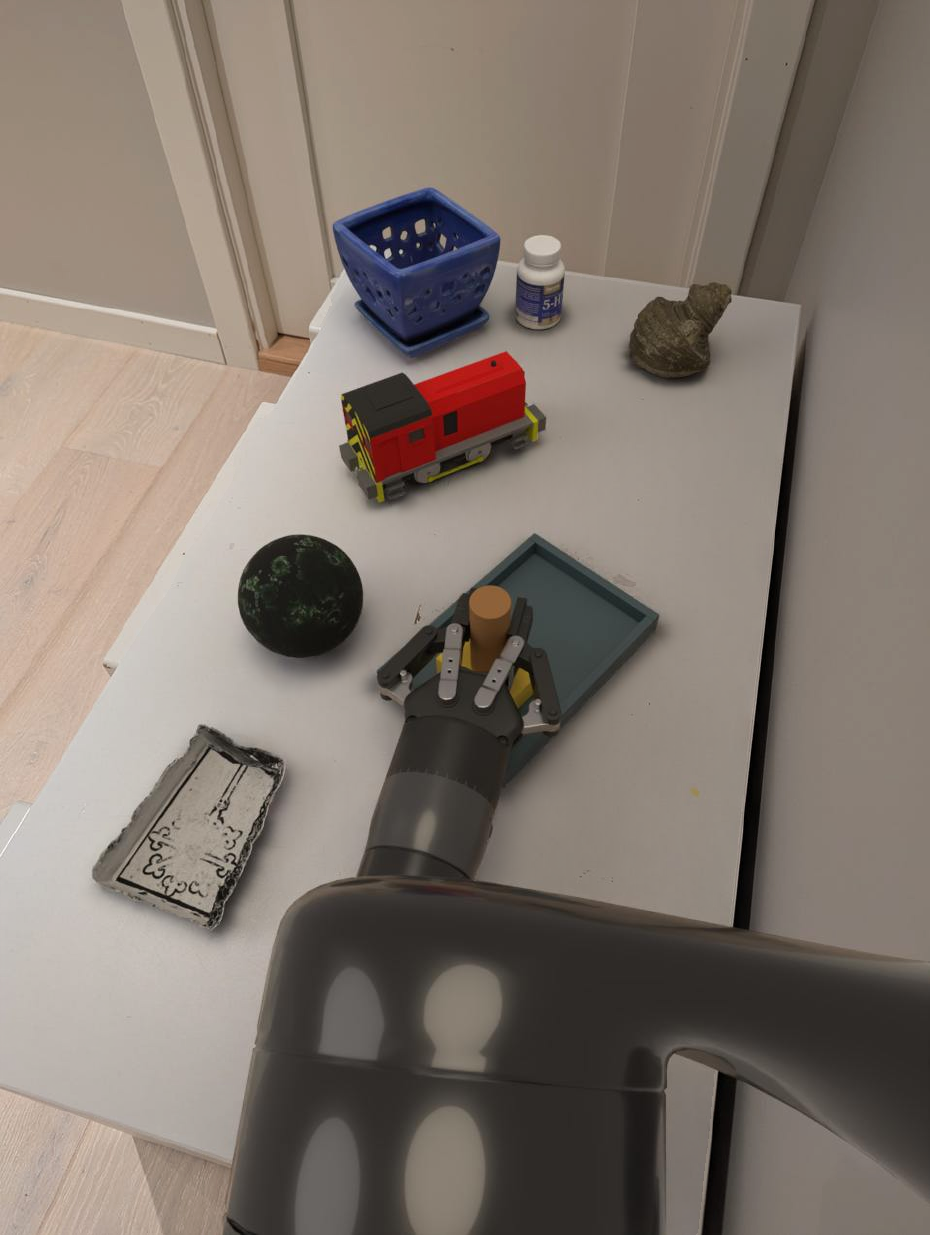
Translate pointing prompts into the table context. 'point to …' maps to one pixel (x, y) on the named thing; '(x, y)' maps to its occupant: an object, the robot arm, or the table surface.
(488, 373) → the toy train
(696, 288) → the seashell
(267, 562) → the decorative stone
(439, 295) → the flower pot
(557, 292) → the pill bottle
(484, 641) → the stamp with peg handle
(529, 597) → the tray
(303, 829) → the table surface
